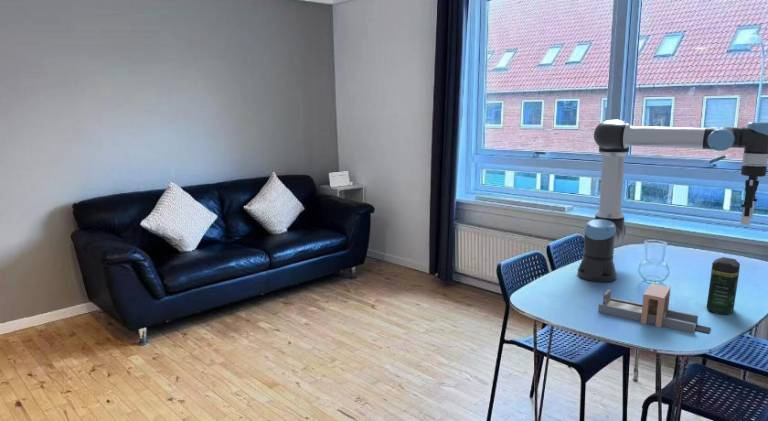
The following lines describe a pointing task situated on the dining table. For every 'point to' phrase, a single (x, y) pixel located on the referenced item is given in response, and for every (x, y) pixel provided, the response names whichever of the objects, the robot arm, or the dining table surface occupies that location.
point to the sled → (651, 310)
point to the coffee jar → (723, 285)
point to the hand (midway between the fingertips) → (746, 221)
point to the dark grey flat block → (702, 329)
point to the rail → (653, 316)
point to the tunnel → (658, 294)
